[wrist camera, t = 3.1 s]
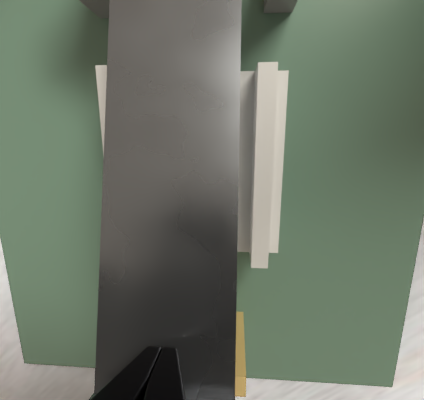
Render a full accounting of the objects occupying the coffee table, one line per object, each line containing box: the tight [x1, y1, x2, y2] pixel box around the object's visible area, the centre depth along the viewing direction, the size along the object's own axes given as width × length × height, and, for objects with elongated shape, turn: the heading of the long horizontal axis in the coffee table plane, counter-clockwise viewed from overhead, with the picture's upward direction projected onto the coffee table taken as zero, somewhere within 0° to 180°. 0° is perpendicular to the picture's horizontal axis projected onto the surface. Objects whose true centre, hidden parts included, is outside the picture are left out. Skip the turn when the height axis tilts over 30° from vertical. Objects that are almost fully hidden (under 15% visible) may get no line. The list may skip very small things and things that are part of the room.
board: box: [0, 0, 424, 397], centre depth 13 cm, size 22×21×6 cm
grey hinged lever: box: [89, 0, 242, 400], centre depth 9 cm, size 5×16×2 cm, turn 0°
